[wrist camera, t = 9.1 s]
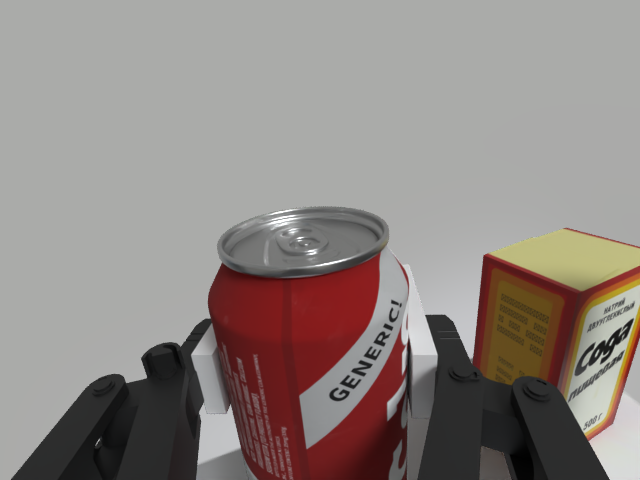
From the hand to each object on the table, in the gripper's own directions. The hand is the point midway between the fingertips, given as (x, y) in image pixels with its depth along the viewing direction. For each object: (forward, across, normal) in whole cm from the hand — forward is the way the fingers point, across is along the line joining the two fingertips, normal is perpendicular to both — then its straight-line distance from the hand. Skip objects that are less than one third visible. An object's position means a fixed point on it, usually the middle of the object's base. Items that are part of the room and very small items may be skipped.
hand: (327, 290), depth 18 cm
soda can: (-5, 0, -7) cm, 9 cm away
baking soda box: (+8, +16, -18) cm, 26 cm away
